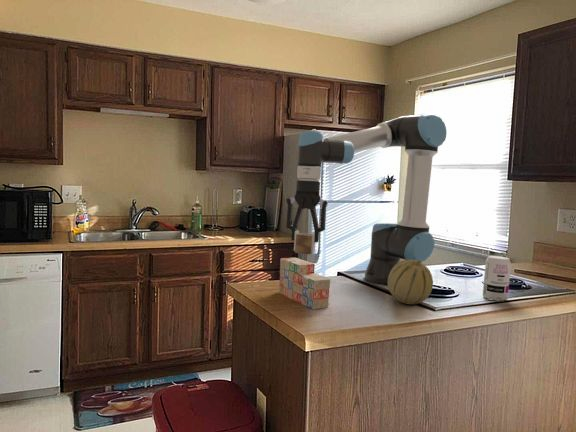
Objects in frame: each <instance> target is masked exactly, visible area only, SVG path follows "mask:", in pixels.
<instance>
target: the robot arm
mask: <svg viewBox="0 0 576 432" xmlns="http://www.w3.org/2000/svg"><path fill="white" fill-rule="evenodd" d="M298 138H299V139H298V152H297V153H298V155H297V156H298V157H297V173H296V178H297V180H296V187H295V188H296V192H295V195H294V196H293V197H287V198H286V204H287V210H286V211H287V212H286V214H287V216H286V228H287V229H289V230H291V241H293V242H294V243H293V252H295V245H296V234H298V233H300V230H298V227H299V223H300V220H301V217H302V213H303V211H304V210H305V209H307V210H309V211H310V214H311V215H310V216H311V220H312V225H313V230H314V231H313V232H312V233H311V234H312V245H311V254H315V252H316V243H319V240H320V238H319V237H320V233H321V232H325V230H326V219H327V218H326V217H327V207H328V204H329V200H325V199H323V198H321V195H320V192H321V191H320V190H321V181H319V180H321V178H322V177H321V174H322V173H321V172H322V164H323V163H324V164H325V163H326V164H327V163H328V164H341V165H343V164H349V163H351V162H352V161H353V160H354V156H355V154H356V153H359V152H362V151H366V150H372V149H375V148H379V147H380V148H383V149H386V148H393V147H399V148H400V147H404V152H405V153H406V154H407V156H408V157H407V167H406V176H405V177H406V178H405V185H404V197H403V206H402V217H401V220H400V221H398V222H395V223H390V222H388V223H387V222H386V223H385V222H384V223H380V222H379V223H374V224H373V225H372V231H371V242H370V243H371V244H370V259H369V262H368V264H367V267H366V268H365V269H366V270H365V271H364V280H366V281H368V282H372V283H376V284H380V285H381V284H383V285H388V276H389V274H390V272H391V270H392V268H393V267H394V266H395V265H396V264H397V263H399V262H401V259H402V260H415V261H421V263H423V262H425V261H427V260H428V258H429V257H430V256H431V255H432V254H433V252H434V250H435V239H434V237H433V234H431V233H430V226H429V224H428V223H427V212H428V204H429V195H430V185H431V177H432V175H431V174H432V167H433V164H432V163H433V157H434V156H435V155H436V154H438V150H439V147H440V146H442V145H443V144H444V142H445V141H446V138H447V127H446V123H445V122H444V121H443V119H442V118H441V116H439V115H437V114H434V113H423V114H413V115H403V116H399V117H398V118H397V117H396V118H394V119H391V120H388V121H383V122H380V123H378V124H376V126H374V127H370V128H365V129H361V130H356V131H351V132H347V133H344V134H343V133H342V134H339V135H335V136H329V137H325V138H324V134H323V132H321V131H315V130H303V131H301V132H300V133H299V137H298ZM295 202H296V203H297V205H298V207H297V210H296V214H295V217H294V220H293V216H294V215H293V213H294V204H295ZM318 204H320V205H319V206H321V207H320V208H321V209H320V224H319V219H318V215H317V209H316V206H317V205H318Z"/></svg>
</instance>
